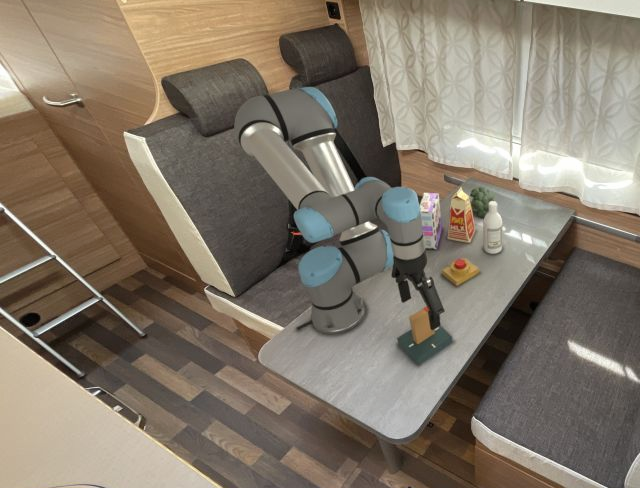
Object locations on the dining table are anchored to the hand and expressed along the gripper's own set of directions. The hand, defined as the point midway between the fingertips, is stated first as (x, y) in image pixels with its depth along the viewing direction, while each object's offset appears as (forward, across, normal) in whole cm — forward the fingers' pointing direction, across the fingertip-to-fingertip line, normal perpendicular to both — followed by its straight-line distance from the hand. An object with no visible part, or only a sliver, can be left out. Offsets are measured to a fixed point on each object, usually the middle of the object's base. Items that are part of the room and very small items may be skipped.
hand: (420, 313), depth 109 cm
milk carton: (+13, +35, -42) cm, 56 cm away
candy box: (+13, +41, -32) cm, 53 cm away
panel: (+13, 0, 0) cm, 13 cm away
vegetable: (+13, +42, -57) cm, 72 cm away
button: (+9, +17, -27) cm, 33 cm away
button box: (+13, +17, -27) cm, 35 cm away
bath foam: (+13, +20, -45) cm, 51 cm away
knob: (+10, 0, 0) cm, 10 cm away
